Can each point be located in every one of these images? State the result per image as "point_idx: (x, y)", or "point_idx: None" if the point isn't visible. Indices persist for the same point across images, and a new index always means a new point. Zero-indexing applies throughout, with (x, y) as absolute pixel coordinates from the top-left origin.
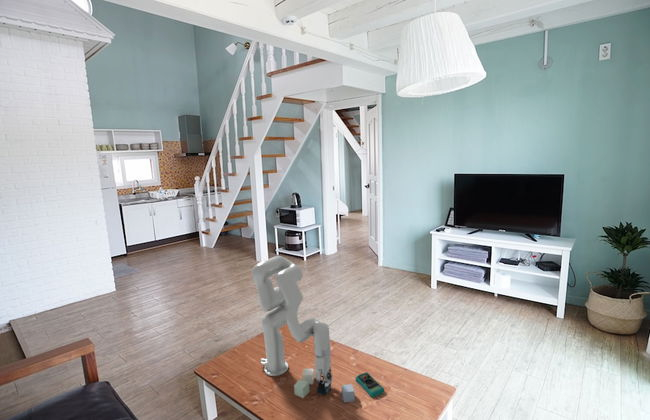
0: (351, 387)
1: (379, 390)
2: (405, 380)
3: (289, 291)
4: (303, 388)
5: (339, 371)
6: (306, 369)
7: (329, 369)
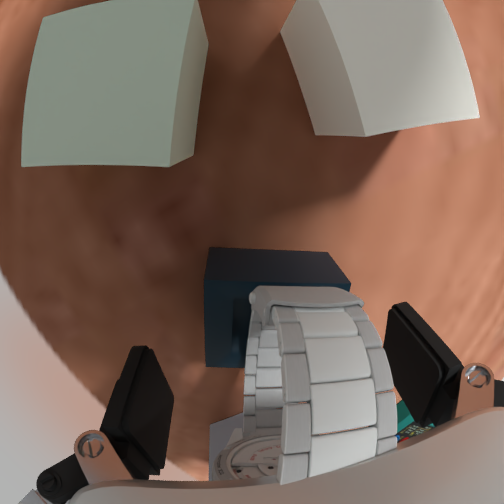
0: None
1: None
2: None
3: None
4: (42, 163)
5: (481, 287)
6: (437, 19)
7: (430, 417)
